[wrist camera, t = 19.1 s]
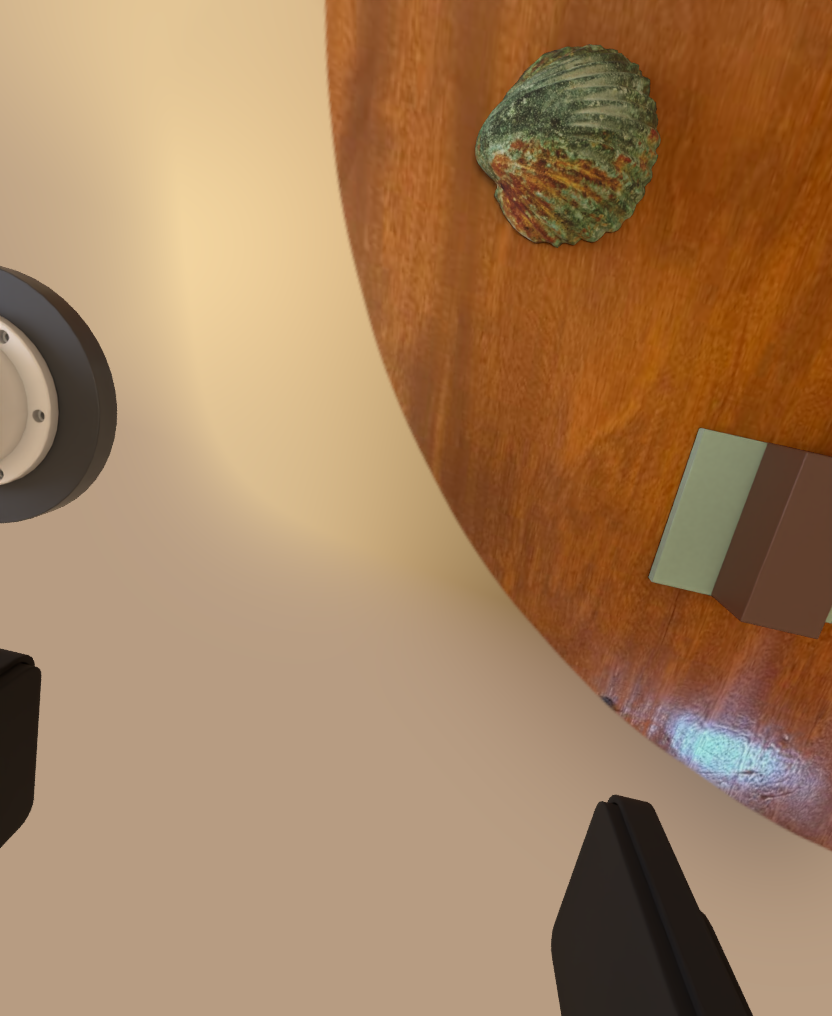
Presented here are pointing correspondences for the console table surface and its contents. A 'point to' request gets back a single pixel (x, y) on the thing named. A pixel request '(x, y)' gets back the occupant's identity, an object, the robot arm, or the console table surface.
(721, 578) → the brown rectangular block
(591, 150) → the seashell
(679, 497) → the mat
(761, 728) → the console table surface
